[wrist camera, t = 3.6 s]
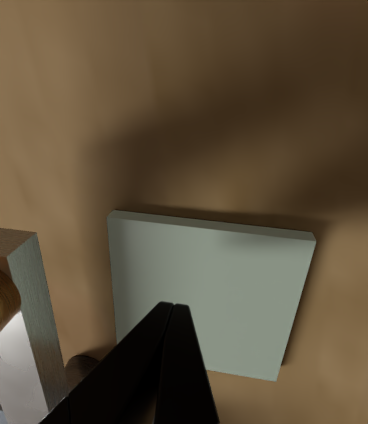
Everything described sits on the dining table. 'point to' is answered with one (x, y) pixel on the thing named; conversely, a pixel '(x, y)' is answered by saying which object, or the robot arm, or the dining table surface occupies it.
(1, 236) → the lever
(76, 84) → the dining table surface
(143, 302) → the pad
